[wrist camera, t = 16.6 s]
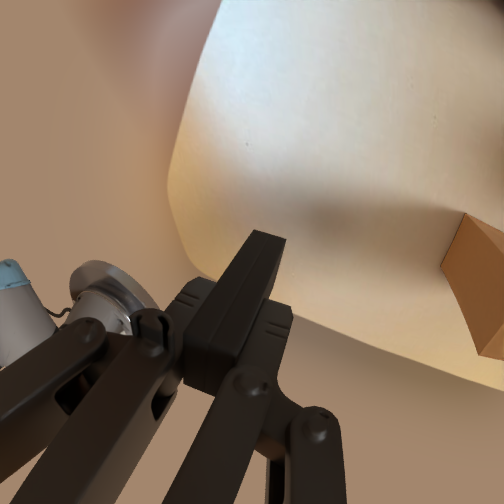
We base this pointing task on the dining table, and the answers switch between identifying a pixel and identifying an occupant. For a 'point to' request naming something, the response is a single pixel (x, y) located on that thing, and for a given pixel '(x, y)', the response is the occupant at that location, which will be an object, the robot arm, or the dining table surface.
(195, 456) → the robot arm
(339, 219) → the dining table surface
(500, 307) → the box
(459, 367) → the dining table surface
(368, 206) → the dining table surface
